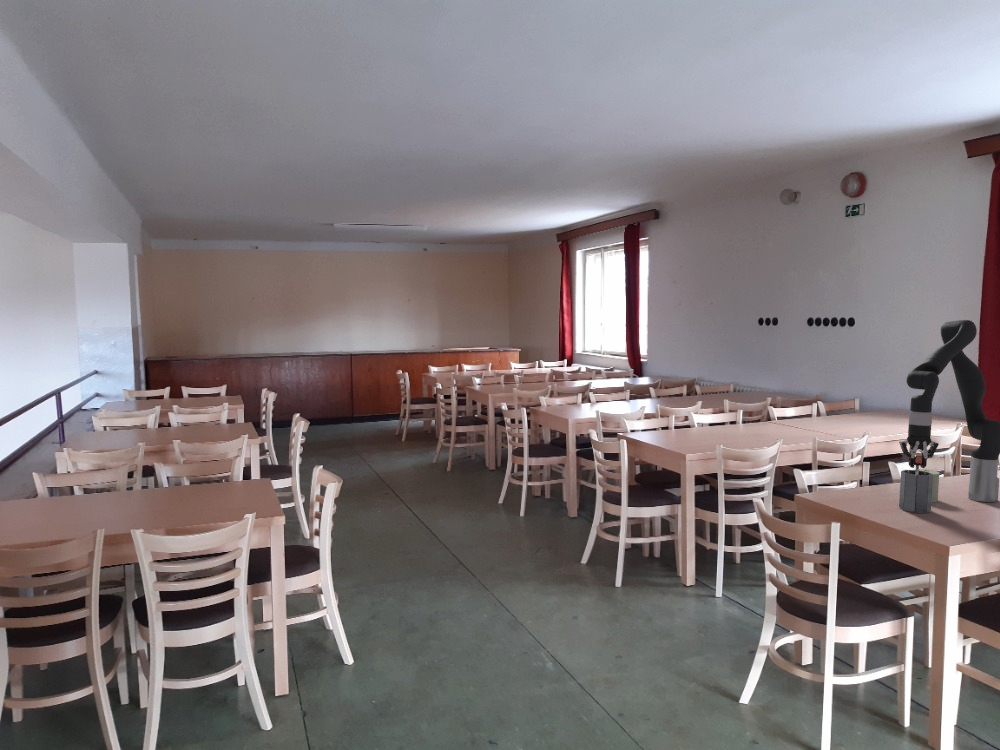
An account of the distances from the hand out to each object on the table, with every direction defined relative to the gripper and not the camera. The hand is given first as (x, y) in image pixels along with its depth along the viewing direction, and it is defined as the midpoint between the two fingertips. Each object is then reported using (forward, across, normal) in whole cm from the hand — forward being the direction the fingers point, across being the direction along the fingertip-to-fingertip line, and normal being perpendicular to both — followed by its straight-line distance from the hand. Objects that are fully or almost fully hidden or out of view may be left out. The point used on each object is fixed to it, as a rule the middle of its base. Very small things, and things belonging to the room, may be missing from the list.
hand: (917, 467), depth 277 cm
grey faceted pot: (+17, 0, -1) cm, 17 cm away
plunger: (+16, 0, 0) cm, 16 cm away
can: (+17, -11, -17) cm, 26 cm away
